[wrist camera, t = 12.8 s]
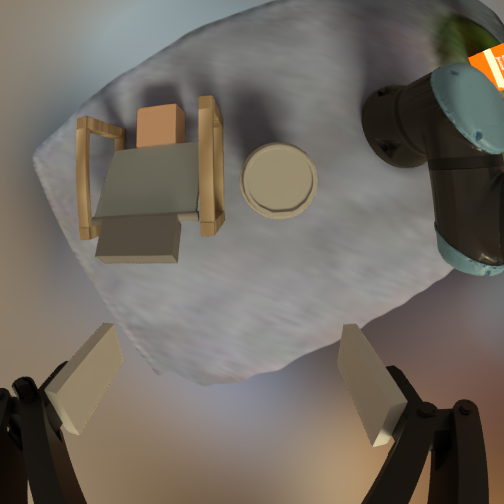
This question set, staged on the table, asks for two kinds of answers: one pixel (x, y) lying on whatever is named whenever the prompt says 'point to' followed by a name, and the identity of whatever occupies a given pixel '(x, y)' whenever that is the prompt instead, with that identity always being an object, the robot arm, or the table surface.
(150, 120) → the block
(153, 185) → the trapdoor
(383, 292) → the table surface
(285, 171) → the disposable coffee cup
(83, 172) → the frame
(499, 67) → the orange juice
